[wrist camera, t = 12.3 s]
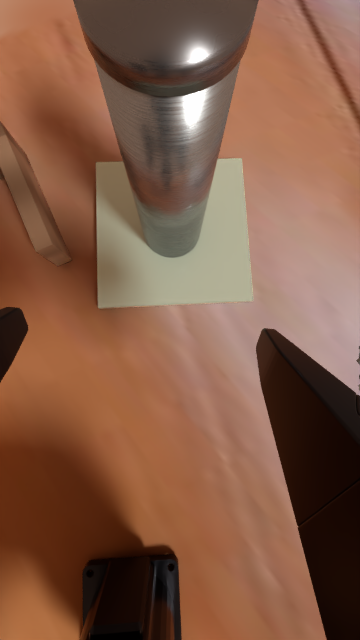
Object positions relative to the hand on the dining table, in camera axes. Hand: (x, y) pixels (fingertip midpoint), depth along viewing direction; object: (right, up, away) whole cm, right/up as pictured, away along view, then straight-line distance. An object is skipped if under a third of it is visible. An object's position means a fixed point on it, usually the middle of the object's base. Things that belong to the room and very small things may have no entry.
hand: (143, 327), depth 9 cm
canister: (+1, +7, +10) cm, 12 cm away
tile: (+1, +7, +10) cm, 13 cm away
